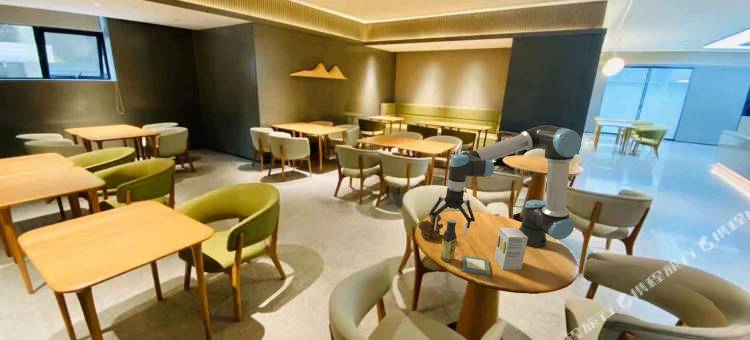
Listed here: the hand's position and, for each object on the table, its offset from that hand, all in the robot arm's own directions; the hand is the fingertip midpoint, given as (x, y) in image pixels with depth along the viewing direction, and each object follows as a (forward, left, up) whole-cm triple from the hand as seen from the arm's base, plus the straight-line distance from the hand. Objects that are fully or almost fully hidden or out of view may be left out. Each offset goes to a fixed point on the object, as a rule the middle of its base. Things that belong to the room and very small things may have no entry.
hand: (449, 231), depth 144 cm
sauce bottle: (0, 0, -15) cm, 15 cm away
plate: (-13, +2, -15) cm, 20 cm away
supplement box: (-28, -5, -15) cm, 32 cm away
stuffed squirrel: (+9, -20, -15) cm, 27 cm away
